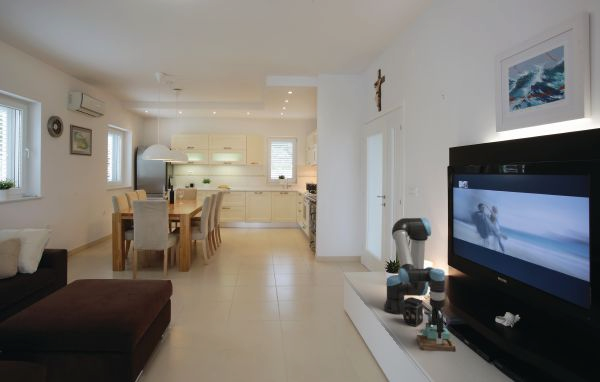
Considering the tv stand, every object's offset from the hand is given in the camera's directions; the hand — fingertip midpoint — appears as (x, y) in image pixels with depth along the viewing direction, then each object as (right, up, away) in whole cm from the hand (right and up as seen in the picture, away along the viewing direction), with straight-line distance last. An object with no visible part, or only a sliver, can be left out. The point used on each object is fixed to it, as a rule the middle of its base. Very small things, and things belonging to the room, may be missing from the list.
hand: (437, 340), depth 191 cm
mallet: (+2, -2, +15) cm, 15 cm away
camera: (-4, -2, +29) cm, 29 cm away
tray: (-1, -3, 0) cm, 3 cm away
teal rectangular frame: (0, +2, 0) cm, 2 cm away
